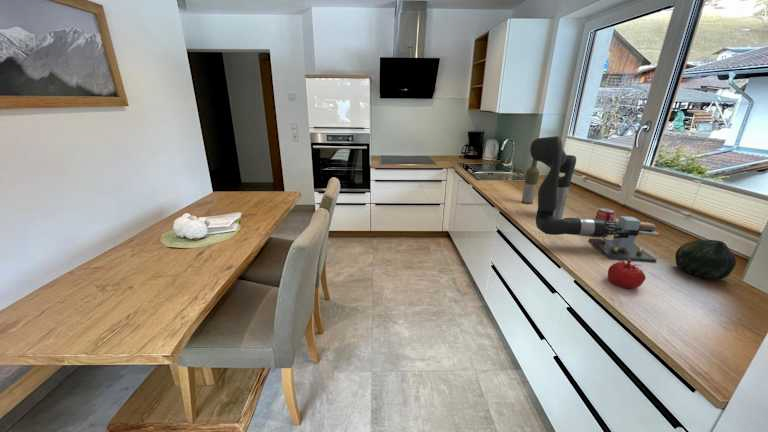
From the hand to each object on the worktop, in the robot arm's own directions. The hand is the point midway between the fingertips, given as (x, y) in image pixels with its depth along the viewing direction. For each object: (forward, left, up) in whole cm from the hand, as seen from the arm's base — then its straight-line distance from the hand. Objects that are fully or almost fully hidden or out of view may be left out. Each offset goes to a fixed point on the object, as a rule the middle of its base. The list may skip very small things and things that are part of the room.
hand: (633, 230), depth 125 cm
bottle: (-44, +48, -10) cm, 66 cm away
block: (-2, -1, -7) cm, 7 cm away
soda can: (-8, +16, -10) cm, 21 cm away
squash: (+21, -8, -10) cm, 24 cm away
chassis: (-2, -1, -10) cm, 10 cm away
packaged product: (+5, +30, -10) cm, 33 cm away
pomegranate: (-4, -31, -10) cm, 33 cm away
